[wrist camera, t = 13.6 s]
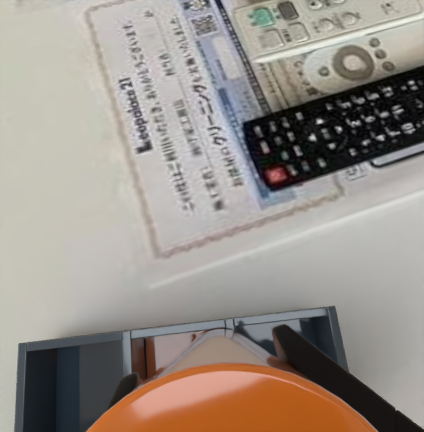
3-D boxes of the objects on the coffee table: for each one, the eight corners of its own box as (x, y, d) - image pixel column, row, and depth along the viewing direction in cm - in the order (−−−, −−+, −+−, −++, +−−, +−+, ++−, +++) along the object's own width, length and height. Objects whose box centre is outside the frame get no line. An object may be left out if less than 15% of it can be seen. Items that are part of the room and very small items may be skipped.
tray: (314, 308, 22) (335, 305, 18) (333, 409, 20) (362, 431, 16) (54, 338, 21) (18, 343, 17) (52, 444, 20) (11, 475, 16)
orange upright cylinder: (274, 345, 16) (498, 449, 3) (249, 435, 14) (437, 1137, 2) (196, 317, 16) (116, 309, 4) (167, 402, 15) (-95, 820, 2)
